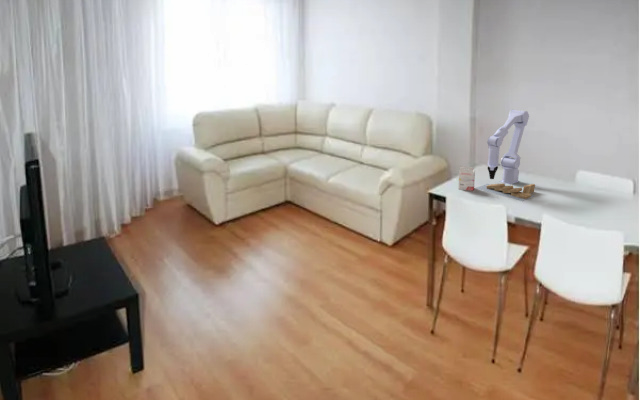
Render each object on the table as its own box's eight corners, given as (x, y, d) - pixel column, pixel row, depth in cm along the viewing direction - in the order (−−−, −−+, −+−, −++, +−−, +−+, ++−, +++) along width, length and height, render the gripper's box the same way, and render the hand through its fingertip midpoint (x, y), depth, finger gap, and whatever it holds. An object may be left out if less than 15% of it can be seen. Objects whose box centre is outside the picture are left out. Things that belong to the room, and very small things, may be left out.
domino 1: (486, 186, 285) (499, 185, 277) (491, 184, 287) (504, 183, 280) (486, 188, 285) (499, 187, 277) (491, 186, 287) (504, 185, 280)
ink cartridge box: (474, 189, 287) (475, 165, 282) (472, 191, 283) (474, 167, 278) (459, 187, 291) (461, 164, 286) (458, 189, 287) (459, 166, 282)
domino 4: (511, 192, 272) (525, 196, 265) (516, 190, 274) (530, 194, 267) (511, 195, 272) (525, 199, 265) (516, 193, 275) (530, 197, 268)
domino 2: (494, 188, 280) (507, 187, 273) (499, 186, 283) (512, 185, 275) (494, 190, 281) (508, 190, 273) (499, 188, 283) (513, 188, 276)
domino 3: (502, 190, 276) (516, 189, 268) (507, 188, 279) (521, 187, 271) (503, 193, 276) (516, 192, 269) (508, 191, 279) (522, 190, 271)
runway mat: (487, 184, 293) (487, 183, 293) (534, 196, 269) (534, 196, 269) (475, 188, 287) (475, 188, 287) (521, 202, 263) (522, 201, 263)
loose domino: (523, 186, 270) (532, 183, 276) (522, 194, 272) (531, 192, 277) (526, 186, 269) (535, 184, 274) (525, 195, 271) (533, 192, 276)
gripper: (500, 160, 271) (498, 182, 275) (501, 153, 283) (499, 175, 288) (487, 159, 273) (485, 182, 278) (489, 153, 286) (487, 174, 291)
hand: (491, 178), depth 283 cm, fingers closed
